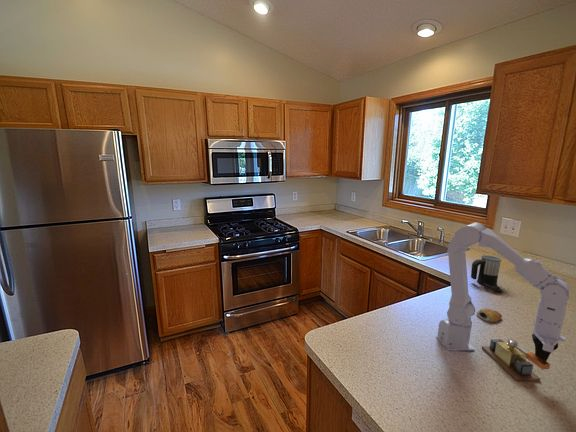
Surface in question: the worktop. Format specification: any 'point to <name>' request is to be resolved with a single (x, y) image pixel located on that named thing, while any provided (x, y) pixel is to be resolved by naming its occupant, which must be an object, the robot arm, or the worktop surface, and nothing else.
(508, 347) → the valve
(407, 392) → the worktop surface
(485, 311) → the pastry
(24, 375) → the worktop surface
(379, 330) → the worktop surface
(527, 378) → the plank
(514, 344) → the lever
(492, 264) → the milk frother
